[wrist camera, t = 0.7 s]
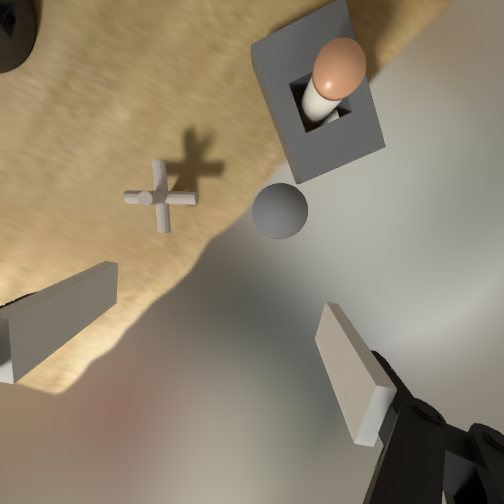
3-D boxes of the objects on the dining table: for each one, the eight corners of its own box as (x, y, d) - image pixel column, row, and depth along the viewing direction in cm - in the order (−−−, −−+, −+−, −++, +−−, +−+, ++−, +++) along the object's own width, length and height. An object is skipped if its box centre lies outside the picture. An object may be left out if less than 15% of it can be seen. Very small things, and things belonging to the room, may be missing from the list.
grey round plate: (243, 196, 39) (243, 197, 38) (296, 173, 37) (296, 173, 37) (264, 246, 40) (264, 247, 40) (315, 226, 39) (315, 226, 39)
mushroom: (291, 99, 35) (307, 52, 23) (323, 83, 34) (357, 27, 22) (302, 133, 36) (324, 105, 24) (334, 119, 35) (372, 82, 24)
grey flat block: (251, 63, 34) (250, 44, 30) (332, 22, 32) (344, -5, 28) (296, 184, 38) (301, 183, 33) (370, 152, 36) (385, 146, 32)
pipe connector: (203, 164, 38) (183, 155, 28) (205, 227, 40) (188, 239, 30) (140, 164, 38) (99, 154, 28) (146, 226, 40) (110, 237, 31)
